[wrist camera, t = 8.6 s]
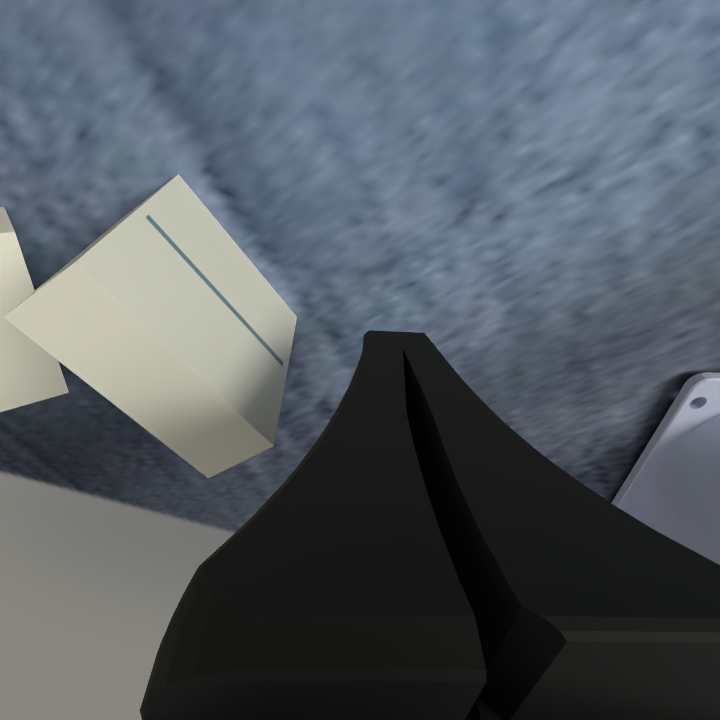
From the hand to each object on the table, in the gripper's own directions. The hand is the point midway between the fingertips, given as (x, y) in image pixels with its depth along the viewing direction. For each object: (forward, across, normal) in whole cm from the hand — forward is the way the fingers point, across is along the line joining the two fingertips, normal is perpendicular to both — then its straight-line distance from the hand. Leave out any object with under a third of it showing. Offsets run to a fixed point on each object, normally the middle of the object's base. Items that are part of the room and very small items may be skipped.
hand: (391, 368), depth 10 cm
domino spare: (+3, +5, -1) cm, 6 cm away
